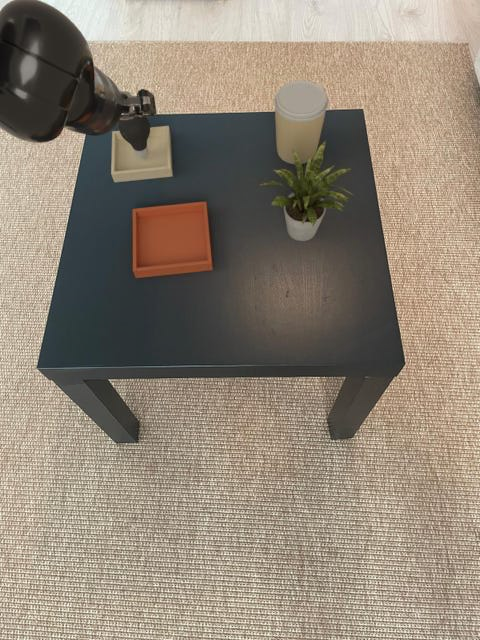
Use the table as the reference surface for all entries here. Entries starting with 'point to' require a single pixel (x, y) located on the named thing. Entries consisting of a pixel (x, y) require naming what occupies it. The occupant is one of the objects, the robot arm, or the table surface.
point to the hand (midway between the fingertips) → (111, 113)
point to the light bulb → (136, 134)
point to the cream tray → (149, 167)
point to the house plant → (308, 196)
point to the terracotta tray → (171, 240)
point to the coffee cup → (299, 119)
